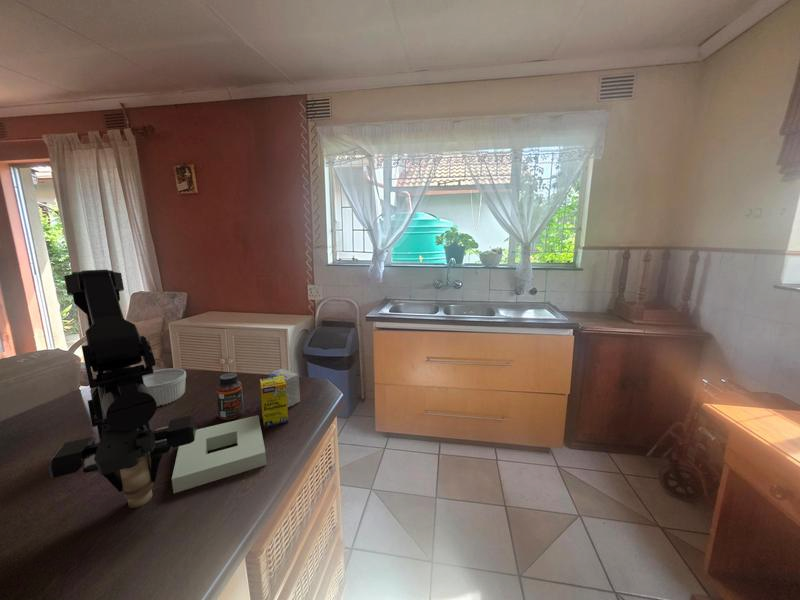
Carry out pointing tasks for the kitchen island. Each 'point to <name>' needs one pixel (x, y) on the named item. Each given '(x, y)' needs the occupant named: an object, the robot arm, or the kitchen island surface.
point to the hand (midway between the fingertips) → (138, 485)
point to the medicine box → (289, 385)
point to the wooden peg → (137, 483)
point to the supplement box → (274, 401)
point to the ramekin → (166, 385)
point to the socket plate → (219, 453)
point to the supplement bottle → (229, 397)
